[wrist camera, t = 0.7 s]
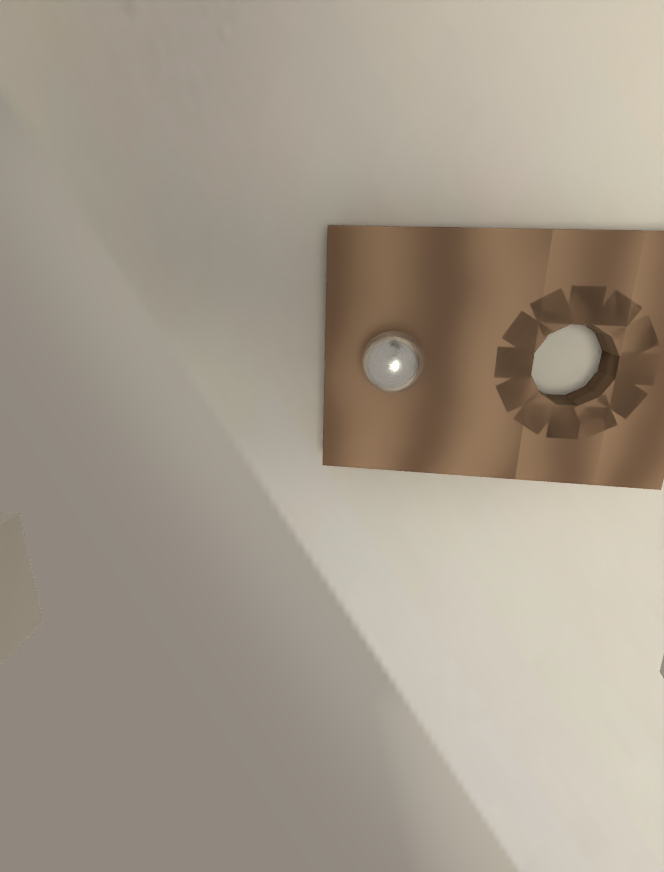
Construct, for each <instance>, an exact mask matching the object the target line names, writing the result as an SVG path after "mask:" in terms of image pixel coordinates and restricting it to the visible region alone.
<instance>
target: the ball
mask: <svg viewBox="0 0 664 872" xmlns="http://www.w3.org/2000/svg"><path fill="white" fill-rule="evenodd" d="M424 364H425V359H424V353H423V350H422V348H421V346H420V344H419V343H418V342H417V341H416V340H415V339H414V338H413V337H412V336H410V335H409V334H407V333H404V332H401V331H386V332H383V333H381V334H379V335H377V336H375V337H374V338H373V339H372V340H371V341H370V342H369V343H368V345H367V346H366V348H365V350H364V353H363V356H362V369H363V373H364V375H365V377H366V379H367V381H368V382H369V383H370V384H371V385H372V386H373V387H374V388H376V389H377V390H379V391H382V392H385V393H390V394H395V393H401V392H404V391H406V390H408V389H410V388H411V387H413V386H414V385H415V384H416V383H417V382H418V380H419V379H420V377H421V375H422V373H423V370H424Z"/></svg>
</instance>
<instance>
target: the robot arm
mask: <svg viewBox="0 0 664 872" xmlns="http://www.w3.org/2000/svg"><path fill="white" fill-rule="evenodd" d="M43 623H44V618H43V613H42V609H41V605H40V600H39V596H38V591H37V587H36V583H35V578H34V574H33V570H32V565H31V561H30V556H29V552H28V548H27V544H26V539H25V535H24V530H23V526H22V522H21V517H20V513H6V512H0V665H1V664H2V663H3V662H4V661H5V660H6V659H7V658H8V657H9V656H10V655H11V654H12V653H13V652H14V651H15V650H16V649H17V648H18V647H19V646H20V645H21V644H22V643H23V642H24V641H25V640H26V639H27V638H28V637H29V636H30V635H31V634H32V633H33V632H35V631H36V630H37V629H38V628H39V627H40V625H42V624H43ZM660 673H661V674H662V676H663V678H664V656H663V660H662V664H661V669H660Z"/></svg>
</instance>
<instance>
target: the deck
mask: <svg viewBox="0 0 664 872" xmlns="http://www.w3.org/2000/svg"><path fill="white" fill-rule="evenodd" d="M570 324H580V325H586V326H587V327H589V328H590V329H592V330H593V331H595V333H596V335H597V338H598V340H599V343H600V345H601V347H602V350H603V351H602V356H601V361H600V366H599V371H598V372H597V373H596V374H595V375H594V377H593V378H592V379H591V380H590V381H589V383H588V384H587V385H586V386H585V387H583V388H581V389H579V390H577V391H574V392H572V393H570V394H568V395H546V394H543V393H542V392H540V391H539V390H538V389H537V387H536V385H535V383H534V380H533V378H532V376H531V371H532V365H533V358H534V353H535V352H536V350H537V349H538V348H539V346H540V345H541V344H542V342H543V341H544V340H545V339H546V337H547V336H548V335H549V334H551V333H553V332H555V331H557V330H559V329H561V328H563V327H565V326H568V325H570ZM386 331H401V332H404V333H407V334H409V335H410V336H412V337H413V338H414V339H415V340H416V341H417V342H418V343H419V344H420V346H421V348H422V350H423V353H424V359H425V364H424V370H423V373H422V375H421V377H420V379H419V380H418V382H417V383H416V384H415V385H414V386H413V387H411V388H410V389H408V390H406V391H404V392H401V393H395V394H390V393H385V392H382V391H379V390H377V389H376V388H374V387H373V386H372V385H371V384H370V383H369V382H368V381H367V379H366V377H365V375H364V373H363V369H362V356H363V353H364V350H365V348H366V346H367V345H368V343H369V342H370V341H371V340H372V339H373V338H374V337H375V336H377V335H379V334H381V333H383V332H386ZM323 465H328V466H342V467H355V468H369V469H383V470H397V471H410V472H424V473H438V474H451V475H465V476H479V477H492V478H506V479H520V480H533V481H547V482H561V483H575V484H588V485H602V486H616V487H629V488H643V489H657V490H661V487H662V483H663V480H664V231H641V230H580V229H520V228H459V227H399V226H338V225H328V237H327V284H326V331H325V378H324V425H323Z"/></svg>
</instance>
